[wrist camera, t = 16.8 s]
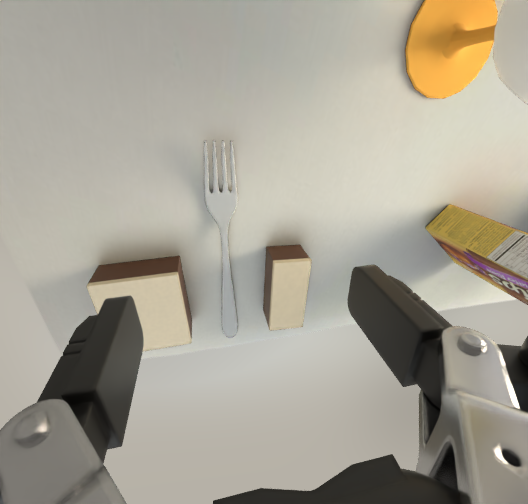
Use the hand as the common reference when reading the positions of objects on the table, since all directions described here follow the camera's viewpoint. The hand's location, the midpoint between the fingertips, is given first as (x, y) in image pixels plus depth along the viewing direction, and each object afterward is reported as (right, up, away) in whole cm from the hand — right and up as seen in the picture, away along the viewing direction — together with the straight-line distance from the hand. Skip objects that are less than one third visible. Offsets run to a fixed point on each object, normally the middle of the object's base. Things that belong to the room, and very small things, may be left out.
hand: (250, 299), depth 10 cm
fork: (-4, +1, +21) cm, 21 cm away
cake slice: (+2, -1, +24) cm, 24 cm away
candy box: (+25, +4, +26) cm, 36 cm away
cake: (-12, -3, +21) cm, 25 cm away
